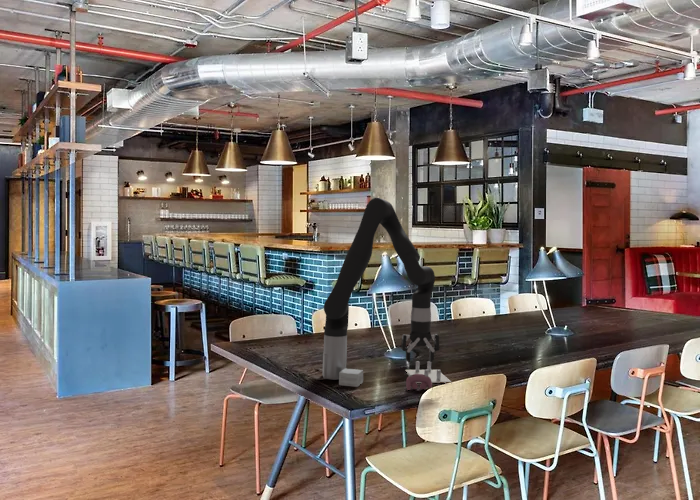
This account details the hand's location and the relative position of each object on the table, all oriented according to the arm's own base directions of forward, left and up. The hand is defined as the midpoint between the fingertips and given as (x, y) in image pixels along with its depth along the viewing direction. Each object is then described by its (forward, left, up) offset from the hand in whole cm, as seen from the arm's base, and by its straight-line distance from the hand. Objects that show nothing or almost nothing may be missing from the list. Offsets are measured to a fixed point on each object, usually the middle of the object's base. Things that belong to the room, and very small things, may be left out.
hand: (419, 361), depth 240 cm
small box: (-25, +9, -11) cm, 29 cm away
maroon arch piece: (0, -1, -11) cm, 11 cm away
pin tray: (+8, +17, -11) cm, 21 cm away
